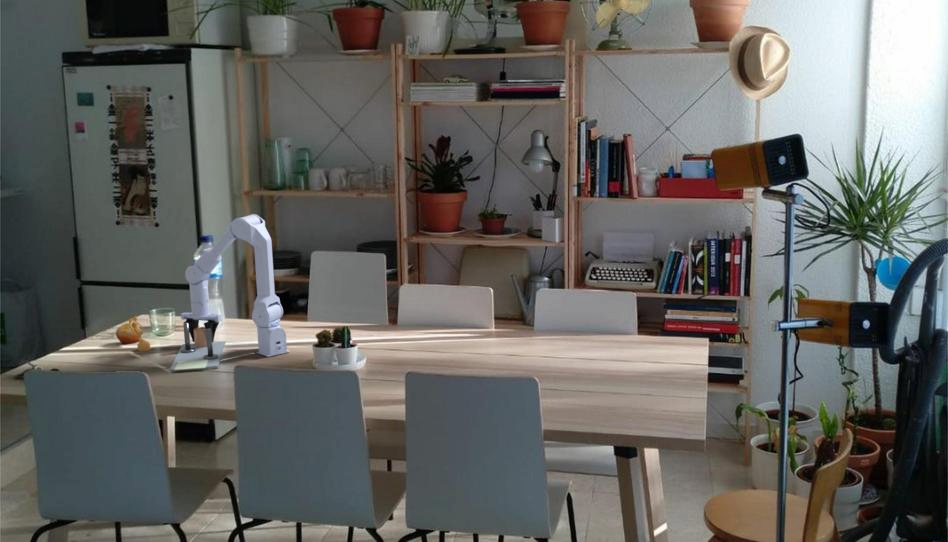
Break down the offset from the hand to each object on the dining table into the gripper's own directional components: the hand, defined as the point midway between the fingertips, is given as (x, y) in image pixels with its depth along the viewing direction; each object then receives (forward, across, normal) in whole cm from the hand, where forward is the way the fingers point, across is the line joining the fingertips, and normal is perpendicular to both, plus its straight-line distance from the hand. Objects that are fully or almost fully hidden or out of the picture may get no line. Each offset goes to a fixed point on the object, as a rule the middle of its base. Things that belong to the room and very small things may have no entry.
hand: (203, 341), depth 333 cm
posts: (+2, -6, +10) cm, 12 cm away
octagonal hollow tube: (+1, 0, 0) cm, 1 cm away
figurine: (+2, +16, +11) cm, 20 cm away
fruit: (+2, +27, +3) cm, 28 cm away
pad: (+2, -11, +21) cm, 24 cm away
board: (+2, -6, +10) cm, 12 cm away
